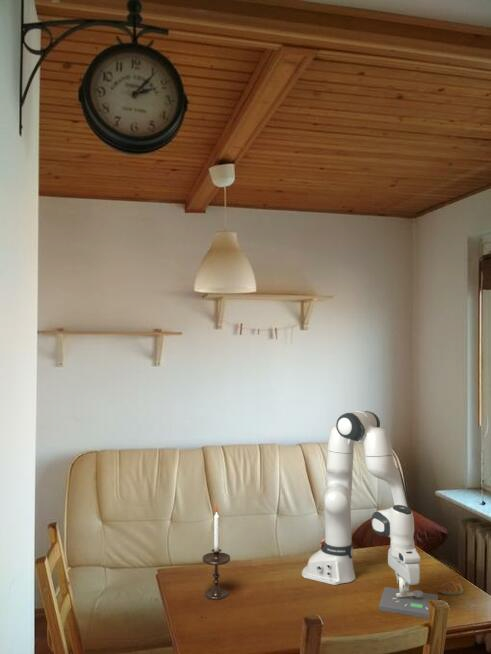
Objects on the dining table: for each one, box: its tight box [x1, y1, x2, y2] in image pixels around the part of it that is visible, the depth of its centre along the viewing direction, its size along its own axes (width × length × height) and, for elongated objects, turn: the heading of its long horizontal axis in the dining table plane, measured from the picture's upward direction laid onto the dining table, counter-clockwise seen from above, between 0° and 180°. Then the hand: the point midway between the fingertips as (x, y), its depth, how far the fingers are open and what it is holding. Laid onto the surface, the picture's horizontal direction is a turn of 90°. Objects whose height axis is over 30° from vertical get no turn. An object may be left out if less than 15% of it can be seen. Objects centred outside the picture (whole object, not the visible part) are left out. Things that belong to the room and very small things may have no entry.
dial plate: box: [378, 586, 439, 620], centre depth 205 cm, size 20×18×2 cm
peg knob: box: [396, 576, 424, 598], centre depth 208 cm, size 10×4×7 cm, turn 99°
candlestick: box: [202, 503, 231, 601], centre depth 214 cm, size 11×11×35 cm
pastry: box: [438, 580, 464, 596], centre depth 216 cm, size 9×7×4 cm
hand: (402, 587), depth 207 cm, fingers open, 4 cm apart
